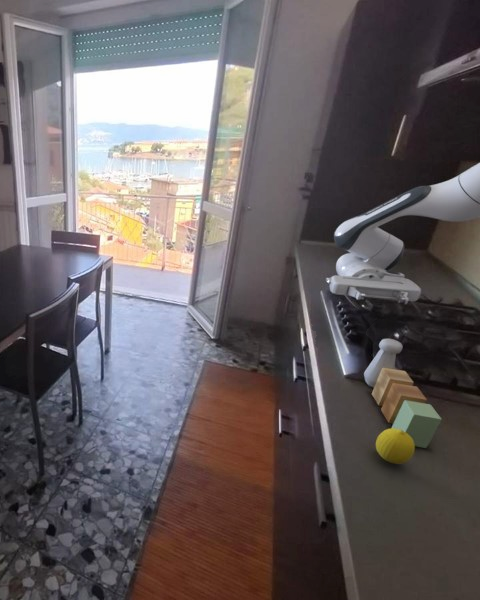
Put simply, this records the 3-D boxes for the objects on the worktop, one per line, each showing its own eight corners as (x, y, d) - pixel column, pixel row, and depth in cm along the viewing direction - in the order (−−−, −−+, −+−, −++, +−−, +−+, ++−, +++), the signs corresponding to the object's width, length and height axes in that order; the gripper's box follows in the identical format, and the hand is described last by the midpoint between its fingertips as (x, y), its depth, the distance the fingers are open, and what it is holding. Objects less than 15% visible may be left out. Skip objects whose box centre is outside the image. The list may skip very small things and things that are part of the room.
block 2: (380, 409, 84) (392, 382, 81) (404, 413, 83) (417, 386, 79) (388, 423, 80) (401, 395, 77) (412, 427, 79) (427, 399, 75)
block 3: (391, 427, 79) (404, 399, 76) (416, 432, 78) (430, 404, 74) (399, 443, 75) (414, 414, 72) (426, 448, 74) (442, 419, 70)
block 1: (371, 393, 89) (382, 367, 86) (393, 397, 88) (405, 370, 84) (378, 405, 85) (389, 378, 82) (401, 409, 84) (413, 382, 81)
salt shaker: (395, 391, 90) (414, 348, 84) (372, 391, 90) (390, 348, 84) (378, 376, 95) (395, 335, 89) (356, 377, 95) (372, 335, 89)
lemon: (410, 476, 68) (427, 445, 65) (375, 467, 70) (389, 437, 67) (399, 453, 73) (413, 424, 69) (366, 446, 75) (379, 417, 71)
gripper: (327, 267, 108) (340, 284, 96) (409, 273, 102) (434, 292, 90) (321, 286, 111) (333, 305, 99) (402, 293, 104) (425, 314, 93)
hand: (382, 299), depth 94 cm, fingers open, 8 cm apart
